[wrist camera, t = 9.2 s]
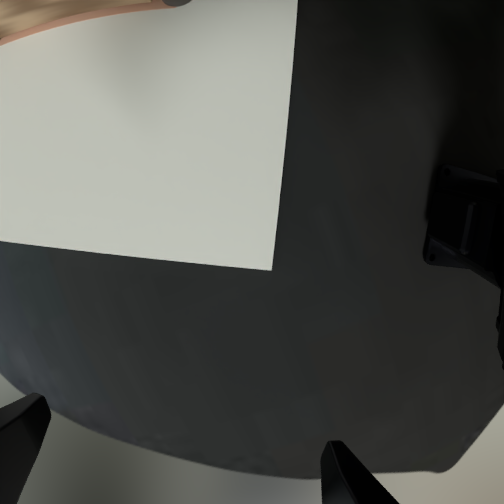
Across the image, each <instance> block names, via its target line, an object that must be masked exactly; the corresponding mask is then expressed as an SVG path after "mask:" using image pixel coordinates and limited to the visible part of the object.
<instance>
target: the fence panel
mask: <svg viewBox="0 0 504 504" xmlns="http://www.w3.org/2000/svg"><path fill="white" fill-rule="evenodd" d="M148 2H152V0H0V40H1V38H3V37H6V36H8V35H11V34H14V33H16V32H19V31H22V30H25V29H28V28H31V27H34V26H37V25H40V24H43V23H47V22H50V21H54V20H57V19H61V18H65V17H69V16H73V15H77V14H81V13H86V12H90V11H95V10H100V9H106V8H112V7H118V6H124V5H131V4H139V3H148Z"/></svg>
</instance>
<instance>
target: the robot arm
mask: <svg viewBox="0 0 504 504" xmlns="http://www.w3.org/2000/svg"><path fill="white" fill-rule="evenodd" d="M445 169H446V170H447V174H446V175H445V174H444V170H445ZM496 176H497V179H495V178H491V177H488V176H485V175H482V174H479V173H476V172H472V171H469V170H466V169H462V168H459V167H455V166H452V165H448V164H442V165H440V166H439V168H438V173H437V181H436V188H435V194H434V195H433V200H432V206H431V212H430V218H429V223H428V229H427V234H428V235H427V240H426V245H425V250H424V254H423V259H424V261H425V262H426V263H427V264H429V265H436V266H446V267H456V268H465V269H470V270H472V271H473V272H475V273H477V274H478V275H480V276H481V277H483V278H484V279H486V280H487V281H489V282H490V283H492V284H494V285H495V286H497V287H498V288H500V289H501V294H500V306H499V315H498V317H497V320H496V328H497V330H498V332H499V336H498V346H497V347H498V350H499V353H500V356H501V359H502V361H503V364H502V368H503V370H504V169H503V170H498V171H496ZM431 254H433V256H432V258H431V259H429V256H430V255H431ZM50 420H51V411H50V409H49V406H48V404H47V401H46V399H45V397H44V396H43V395H40V394H37V393H31V394H29V395H27V396H25V397H23V398H21V399H19V400H17V401H15V402H13V403H11V404H9V405H6V406H4V407H2V408H0V504H17V502H18V500H19V497H20V495H21V492H22V490H23V488H24V485H25V483H26V481H27V478H28V476H29V474H30V472H31V469H32V467H33V465H34V463H35V460H36V458H37V456H38V454H39V451H40V448H41V446H42V442H43V439H44V436H45V434H46V431H47V428H48V425H49V423H50ZM320 464H321V486H322V487H321V490H322V504H399V503H398V502H397V501H396V499H394V497H393V496H392V495H391V494H390V493H389V492H388V491H387V490H386V489H385V488H384V487H383V486H382V485H381V484H380V483H379V481H378V480H376V478H375V477H374V476H373V475H372V474H371V473H370V472H369V471H368V469H367V468H366V467H365V466H364V465H363V464H362V463H361V462H360V461H359V460H358V458H357V457H356V456H355V455H354V454H353V453H352V452H351V451H350V450H349V448H348V447H347V446H346V445H345V444H344V443H343V442H342V441H340V440H336V441H328V442H327V444H326V446H325V448H324V451H323V453H322V456H321V461H320Z"/></svg>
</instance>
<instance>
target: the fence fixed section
mask: <svg viewBox="0 0 504 504" xmlns="http://www.w3.org/2000/svg"><path fill="white" fill-rule="evenodd" d="M162 1H163V2H164V3H165V4H166V5H168V6H173V7H179V6H183V5H185V4H187V3H189V2H190V1H192V0H162Z"/></svg>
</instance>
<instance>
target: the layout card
mask: <svg viewBox="0 0 504 504" xmlns="http://www.w3.org/2000/svg"><path fill="white" fill-rule="evenodd" d="M297 3H298V0H192V1H190V2H189V3H187V4H185V5H183V6H179V7H173V6H168V5H166V4H165V3H164V2H163V1H162V0H152V2H148V3H139V4H131V5H124V6H118V7H112V8H106V9H100V10H95V11H90V12H86V13H81V14H77V15H73V16H69V17H65V18H61V19H57V20H54V21H50V22H47V23H43V24H40V25H37V26H34V27H31V28H28V29H25V30H22V31H19V32H16V33H14V34H11V35H8V36H6V37H3V38H1V40H0V241H6V242H14V243H22V244H30V245H38V246H46V247H55V248H63V249H71V250H80V251H89V252H97V253H106V254H115V255H124V256H133V257H143V258H152V259H161V260H171V261H181V262H190V263H200V264H210V265H220V266H231V267H241V268H252V269H262V270H272V261H273V253H274V244H275V235H276V227H277V218H278V209H279V200H280V190H281V181H282V171H283V162H284V152H285V142H286V132H287V121H288V111H289V100H290V89H291V78H292V66H293V55H294V42H295V30H296V17H297Z"/></svg>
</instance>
